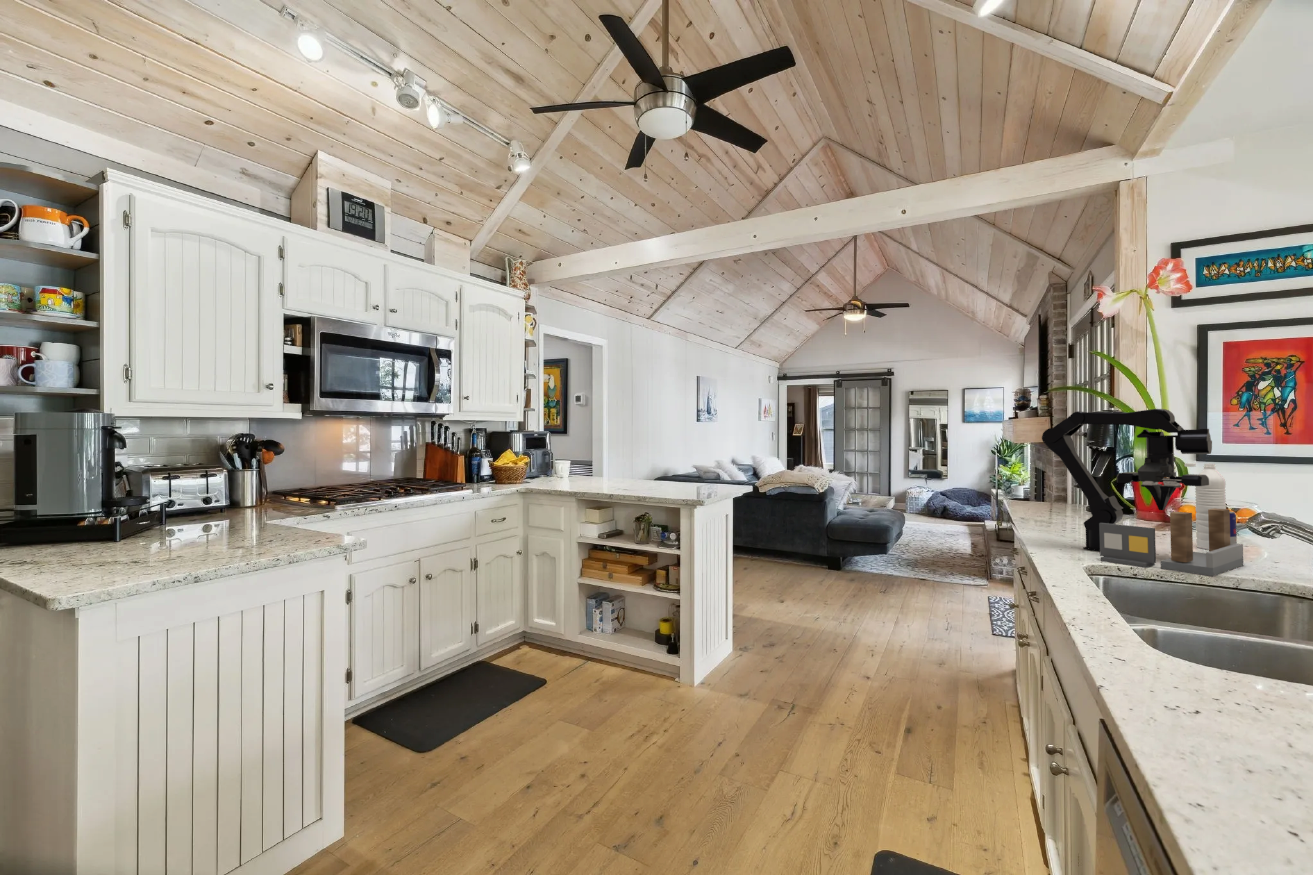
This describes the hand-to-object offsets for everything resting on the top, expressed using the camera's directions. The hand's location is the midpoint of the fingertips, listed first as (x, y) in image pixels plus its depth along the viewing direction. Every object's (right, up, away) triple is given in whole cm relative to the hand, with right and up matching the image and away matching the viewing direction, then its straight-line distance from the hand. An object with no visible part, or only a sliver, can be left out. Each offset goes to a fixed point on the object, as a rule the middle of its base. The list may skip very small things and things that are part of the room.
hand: (1161, 510), depth 160 cm
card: (-15, -13, -6) cm, 21 cm away
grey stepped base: (0, -13, -13) cm, 18 cm away
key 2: (+6, -11, -10) cm, 16 cm away
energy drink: (+18, -13, +1) cm, 22 cm away
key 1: (-8, -11, -15) cm, 20 cm away
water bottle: (+22, -13, +10) cm, 27 cm away
